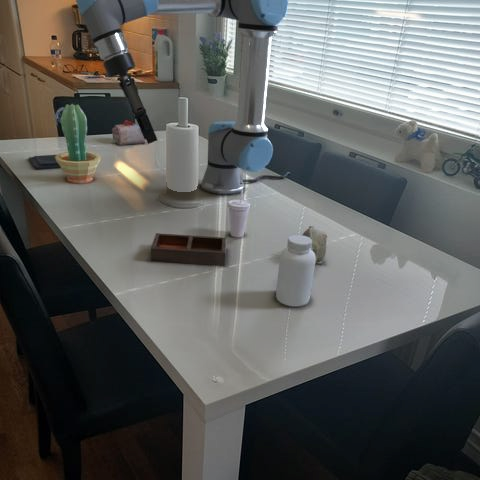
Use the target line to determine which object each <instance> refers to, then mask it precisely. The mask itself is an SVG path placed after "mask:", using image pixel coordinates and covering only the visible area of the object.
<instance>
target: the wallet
mask: <svg viewBox="0 0 480 480" xmlns="http://www.w3.org/2000/svg"><path fill="white" fill-rule="evenodd" d="M56 155H57V154H44V155H34V156H28V160H29V162H30V163H31V165H32V167H33V168H34V170H51V169H61V167H60V165H59V164H58V163H57V161H56V159H55V156H56Z"/></svg>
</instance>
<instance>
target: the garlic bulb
mask: <svg viewBox="0 0 480 480" xmlns="http://www.w3.org/2000/svg"><path fill="white" fill-rule="evenodd" d="M301 235H303V236H307V237H309V238H310V239H311V240H312V246H311V250H312V251H313V252H314V254H315V256H316V261H315V264H323V260H324V259H325V257H326V254H327V253H326V252H327V238H328V235H327V233H326V232H324V231H323V230H322V229H320V228H317V227H315V226H314V225H313V226H312V225H309V227H308V228H307V229H306V230H305V231H304V232H303V233H302V234H301Z"/></svg>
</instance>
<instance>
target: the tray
mask: <svg viewBox="0 0 480 480" xmlns="http://www.w3.org/2000/svg"><path fill="white" fill-rule="evenodd" d="M226 247H227V237H223V236H205V235H193V234H192V235H190V234H177V233H176V234H175V233H159V232H158V233H157V232H155V235H154V238H153V239H152V244H151V246H150V262H157V263H158V262H161V263H177V264H190V265H191V264H192V265H193V264H194V265H210V266H226V252H227V251H226V249H227V248H226Z"/></svg>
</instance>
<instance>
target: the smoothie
mask: <svg viewBox="0 0 480 480" xmlns="http://www.w3.org/2000/svg"><path fill="white" fill-rule="evenodd" d="M243 196H244V187H243V188H241V192H240V199H231V200H229V201H228V202H227V207H228V213H229V228H230V229H229V230H230V236H231V237H234V238H242V237H244V233H245V229H246V224H247V220H248V215H249V210H250V208H251V203H250V202H249V201H247V200H244V199H243V198H244V197H243Z"/></svg>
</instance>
